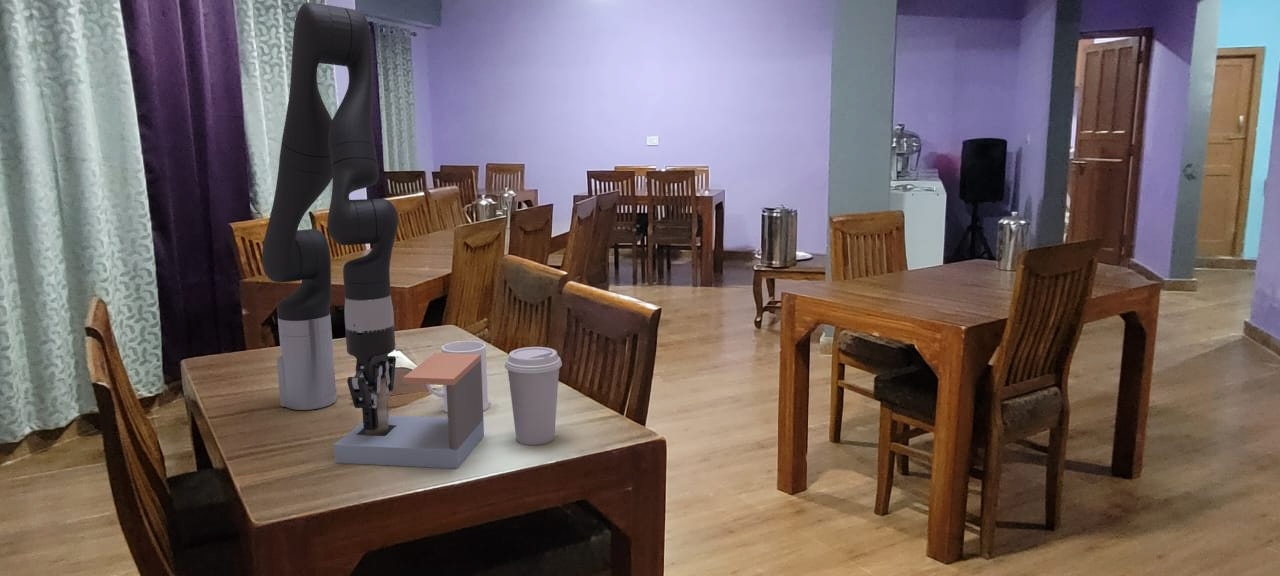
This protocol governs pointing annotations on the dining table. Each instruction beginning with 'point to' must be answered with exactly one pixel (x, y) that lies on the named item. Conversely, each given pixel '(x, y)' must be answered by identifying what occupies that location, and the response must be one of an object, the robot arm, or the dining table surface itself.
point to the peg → (381, 411)
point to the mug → (466, 348)
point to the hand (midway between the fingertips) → (376, 424)
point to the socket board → (427, 421)
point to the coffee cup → (534, 393)
